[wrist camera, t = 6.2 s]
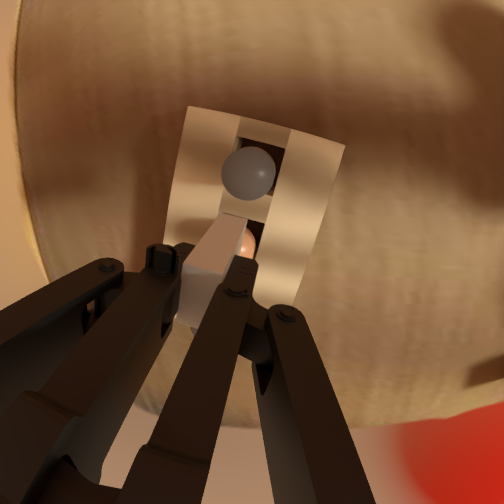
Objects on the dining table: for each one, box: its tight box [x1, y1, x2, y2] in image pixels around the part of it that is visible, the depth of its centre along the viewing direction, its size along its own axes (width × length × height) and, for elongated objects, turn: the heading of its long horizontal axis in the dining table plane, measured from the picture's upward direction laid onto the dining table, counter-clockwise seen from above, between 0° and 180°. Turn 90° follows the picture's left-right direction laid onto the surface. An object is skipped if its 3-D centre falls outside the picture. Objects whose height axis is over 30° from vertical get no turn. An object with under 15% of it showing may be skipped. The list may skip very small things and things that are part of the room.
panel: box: [163, 106, 345, 318], centre depth 31 cm, size 22×14×5 cm, turn 166°
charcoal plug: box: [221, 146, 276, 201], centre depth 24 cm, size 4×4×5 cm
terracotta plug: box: [240, 228, 255, 259], centre depth 28 cm, size 4×4×5 cm
